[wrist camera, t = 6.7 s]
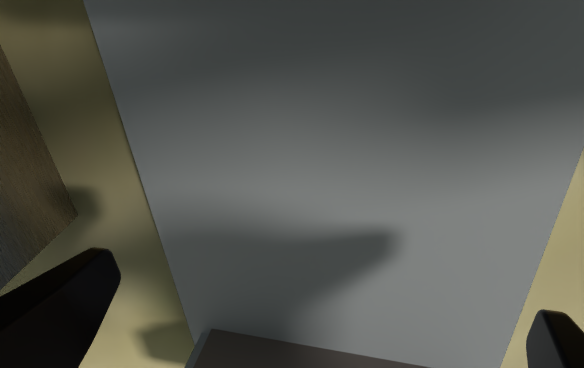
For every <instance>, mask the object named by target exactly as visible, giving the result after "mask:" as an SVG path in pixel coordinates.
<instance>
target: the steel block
mask: <svg viewBox="0 0 584 368" xmlns="http://www.w3.org/2000/svg"><path fill="white" fill-rule="evenodd" d="M77 216H78V214H77V212H76V210H75V208H74V206H73V203H72V201H71V199H70V197H69V195H68V192H67V190H66V188H65V186H64V184H63V182H62V179H61V177H60V175H59V173H58V171H57V168H56V166H55V164H54V162H53V160H52V157H51V155H50V153H49V151H48V149H47V146H46V144H45V142H44V140H43V138H42V135H41V133H40V131H39V129H38V127H37V124H36V122H35V120H34V118H33V116H32V113H31V111H30V109H29V107H28V105H27V102H26V100H25V98H24V96H23V94H22V91H21V89H20V87H19V85H18V83H17V80H16V78H15V76H14V74H13V72H12V69H11V67H10V65H9V63H8V61H7V59H6V56H5V54H4V52H3V50H2V48H1V45H0V290H1V289H2V288H3V287H4V286H5V285H6V284H7V283H8V282H9V281H10V280H11V279H12V278H13V277H14V276H15V275H16V274H18V273H19V272H20V271H21V270H22V269H23V268H24V267H25V266H26V265H27V264H28V263H29V262H30V261H31V260H32V259H33V258H34V257H35V256H36V255H37V254H38V253H40V252H41V251H42V250H43V249H44V248H45V247H46V246H47V245H48V244H49V243H50V242H51V241H52V240H53V239H54V238H55V237H56V236H57V235H58V234H59V233H60V232H62V231H63V230H64V229H65V228H66V227H67V226H68V225H69V224H70V223H71V222H72V221H73V220H74V219H75V218H76V217H77Z"/></svg>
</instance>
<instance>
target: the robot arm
mask: <svg viewBox="0 0 584 368" xmlns="http://www.w3.org/2000/svg"><path fill="white" fill-rule="evenodd" d="M120 280H121V273H120V271H119V268H118V266H117V264H116V261H115V259H114V256H113V254H112V252H111V251H110V250H108V249H104V248H96V247H94V248H90V249H88V250H86V251H84V252H82V253H80V254H78V255H77V256H75V257H73V258H71V259H69V260H67V261H65V262H64V263H62V264H60V265H58V266H56V267H54V268H53V269H51V270H49V271H47V272H45V273H43V274H41V275H40V276H38V277H36V278H34V279H32V280H30V281H28V282H27V283H25V284H23V285H21V286H19V287H17V288H16V289H14V290H12V291H10V292H8V293H6V294H4V295H3V296H1V297H0V368H78V367H79V365H80V363H81V362H82V360H83V358H84V356H85V355H86V353H87V351H88V349H89V348H90V346H91V344H92V342H93V340H94V338H95V336H96V334H97V332H98V330H99V327H100V325H101V323H102V321H103V319H104V317H105V314H106V312H107V310H108V308H109V306H110V304H111V301H112V299H113V297H114V295H115V293H116V291H117V288H118V286H119V284H120ZM526 351H527V360H528V368H584V332H583V331H582V330H581V329H580V328H579V327H578V325H577V324H576V323H575V322H574V321H573V320H572V319H571V318H570V317H569V316H568V315H567V314H565V313H563V312H558V311H551V310H544V309H543V310H539V311H538V312H537V314H536V316H535V319H534V321H533V324H532V326H531V328H530V331H529V333H528V336H527V340H526Z"/></svg>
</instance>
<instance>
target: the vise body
mask: <svg viewBox="0 0 584 368" xmlns="http://www.w3.org/2000/svg"><path fill="white" fill-rule="evenodd" d="M83 2H84V5H85V8H86V12H87V15H88V18H89V21H90V24H91V27H92V30H93V33H94V36H95V39H96V42H97V45H98V49H99V52H100V55H101V58H102V61H103V64H104V67H105V70H106V73H107V76H108V79H109V82H110V86H111V89H112V92H113V95H114V98H115V101H116V104H117V107H118V110H119V113H120V116H121V120H122V123H123V126H124V129H125V132H126V135H127V138H128V141H129V144H130V147H131V150H132V153H133V157H134V160H135V163H136V166H137V169H138V172H139V175H140V178H141V181H142V184H143V187H144V191H145V194H146V197H147V200H148V203H149V206H150V209H151V212H152V215H153V218H154V221H155V224H156V228H157V231H158V234H159V237H160V240H161V243H162V246H163V249H164V252H165V255H166V258H167V261H168V265H169V268H170V271H171V274H172V277H173V280H174V283H175V286H176V289H177V292H178V295H179V299H180V302H181V305H182V308H183V311H184V314H185V317H186V320H187V323H188V326H189V329H190V332H191V336H192V339H193V342H194V345H195V347H194V349H193V351H192V353H191V355H190V358H189V360H188V362H187V364H186V366H185V368H500V366H501V364H502V361H503V358H504V356H505V353H506V351H507V348H508V345H509V343H510V340H511V337H512V335H513V332H514V329H515V327H516V324H517V322H518V319H519V316H520V314H521V311H522V308H523V306H524V303H525V300H526V298H527V295H528V293H529V290H530V287H531V285H532V282H533V279H534V277H535V274H536V271H537V269H538V266H539V264H540V261H541V258H542V256H543V253H544V250H545V248H546V245H547V243H548V240H549V237H550V235H551V232H552V229H553V227H554V224H555V221H556V219H557V216H558V214H559V211H560V208H561V206H562V203H563V200H564V198H565V195H566V192H567V190H568V187H569V185H570V182H571V179H572V177H573V174H574V171H575V169H576V166H577V163H578V161H579V158H580V156H581V153H582V150H583V148H584V0H83Z"/></svg>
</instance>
